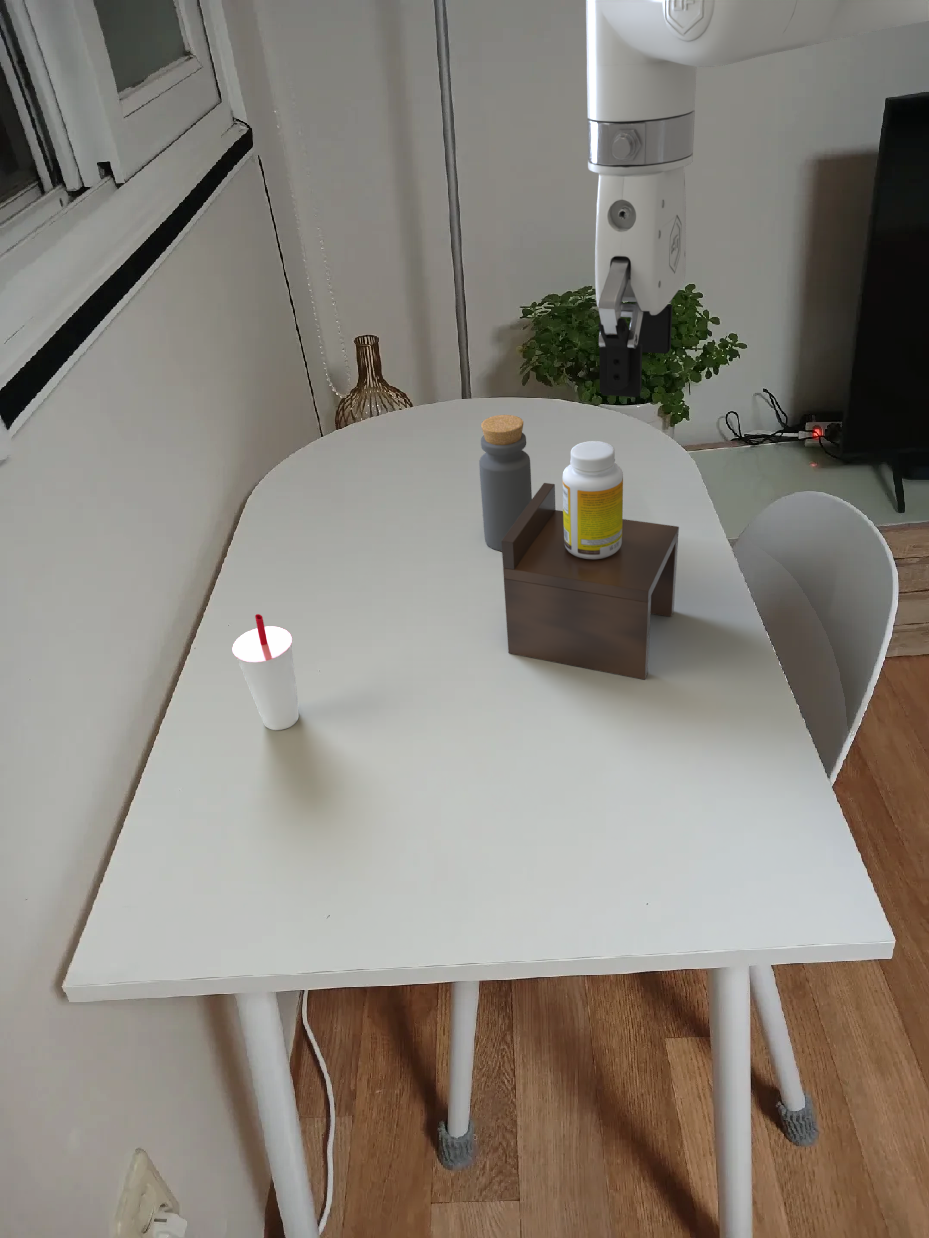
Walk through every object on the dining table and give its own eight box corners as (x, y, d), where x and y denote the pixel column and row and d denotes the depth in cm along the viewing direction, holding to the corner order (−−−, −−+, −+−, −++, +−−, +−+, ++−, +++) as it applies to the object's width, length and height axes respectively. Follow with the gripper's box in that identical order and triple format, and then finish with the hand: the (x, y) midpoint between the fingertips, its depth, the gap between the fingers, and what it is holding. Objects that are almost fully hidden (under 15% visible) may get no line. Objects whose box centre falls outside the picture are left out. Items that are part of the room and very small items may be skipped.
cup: (320, 716, 90) (297, 613, 83) (273, 745, 88) (245, 641, 81) (288, 692, 94) (264, 591, 87) (242, 719, 91) (213, 617, 84)
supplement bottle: (634, 546, 92) (636, 448, 86) (593, 568, 89) (593, 469, 83) (592, 526, 95) (592, 431, 89) (551, 547, 93) (549, 451, 87)
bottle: (487, 554, 112) (478, 436, 103) (482, 529, 117) (474, 415, 108) (536, 549, 112) (532, 430, 103) (529, 524, 117) (525, 409, 108)
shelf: (673, 610, 100) (680, 499, 92) (644, 679, 91) (649, 563, 83) (547, 589, 105) (543, 482, 97) (508, 653, 96) (501, 540, 89)
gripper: (662, 166, 61) (655, 417, 71) (716, 121, 74) (704, 339, 83) (551, 168, 64) (559, 409, 73) (622, 124, 76) (620, 335, 86)
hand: (636, 372), depth 78 cm, fingers open, 9 cm apart
